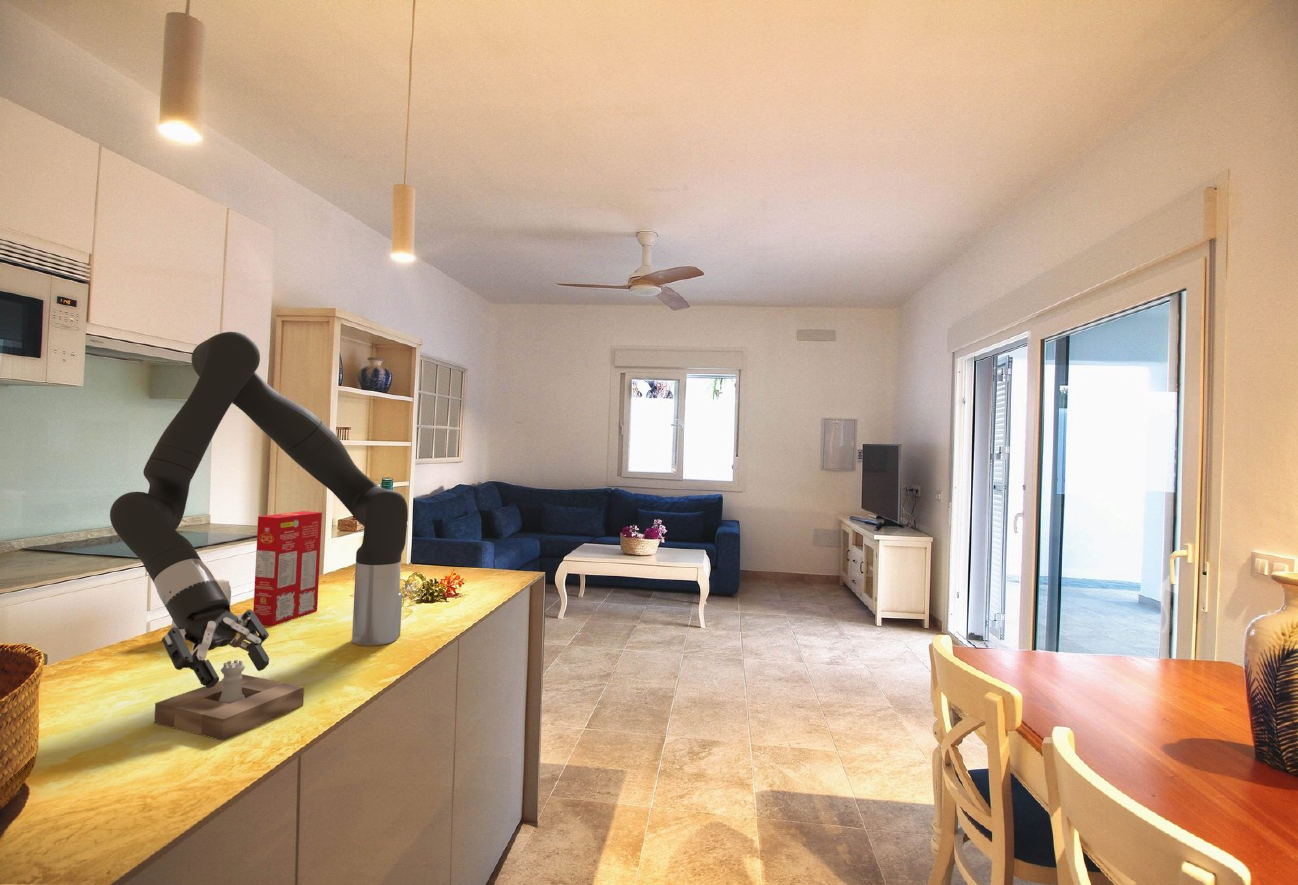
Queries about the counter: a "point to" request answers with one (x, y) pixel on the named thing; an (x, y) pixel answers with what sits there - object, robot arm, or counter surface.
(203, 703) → the socket board
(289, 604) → the food packaging
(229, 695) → the rook chess piece
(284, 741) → the counter surface
